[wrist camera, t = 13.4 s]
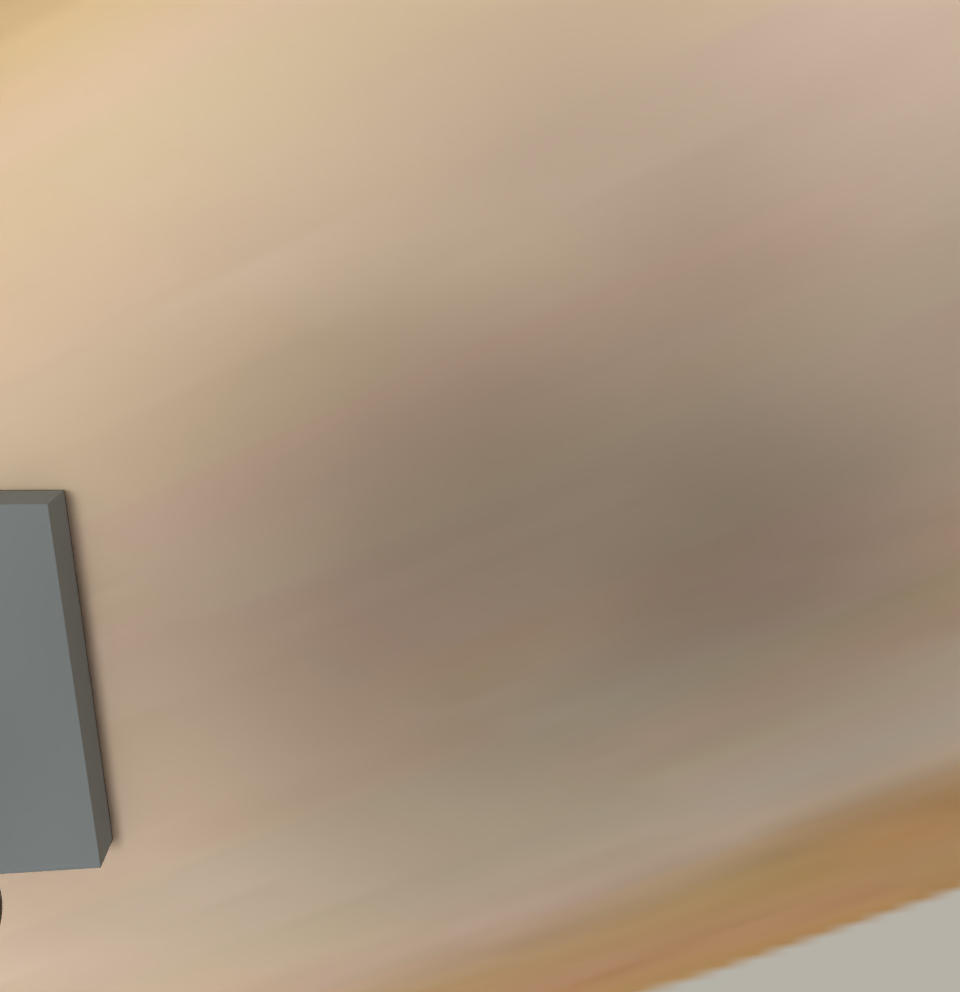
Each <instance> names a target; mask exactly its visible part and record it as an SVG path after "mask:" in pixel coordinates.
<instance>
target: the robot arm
mask: <svg viewBox="0 0 960 992" xmlns="http://www.w3.org/2000/svg"><path fill="white" fill-rule="evenodd" d="M1 917H2V896H1V891H0V923H1Z"/></svg>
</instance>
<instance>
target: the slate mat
mask: <svg viewBox="0 0 960 992" xmlns="http://www.w3.org/2000/svg"><path fill="white" fill-rule="evenodd" d="M111 842H112V833H111V826H110V819H109V812H108V805H107V797H106V790H105V783H104V776H103V769H102V761H101V754H100V747H99V740H98V732H97V725H96V718H95V711H94V704H93V696H92V689H91V682H90V675H89V668H88V660H87V653H86V646H85V639H84V631H83V624H82V617H81V610H80V603H79V595H78V588H77V581H76V574H75V567H74V559H73V552H72V545H71V538H70V530H69V523H68V516H67V509H66V502H65V494H64V490H10V491H0V874H5V873H21V872H37V871H53V870H69V869H85V868H101V865H102V863H103V861H104V858H105V856H106V854H107V851H108V849H109V847H110V844H111Z"/></svg>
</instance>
